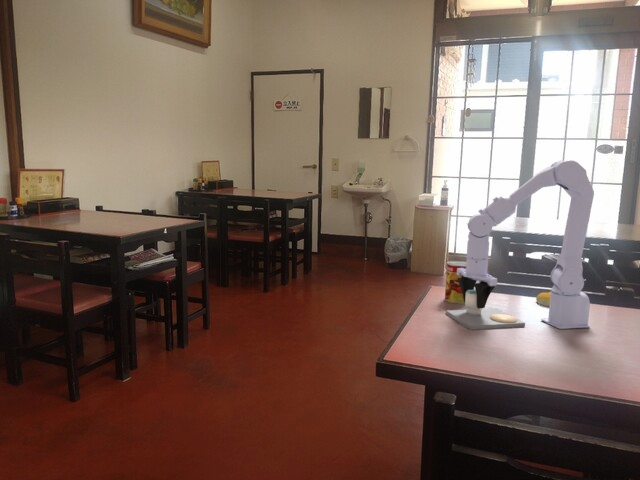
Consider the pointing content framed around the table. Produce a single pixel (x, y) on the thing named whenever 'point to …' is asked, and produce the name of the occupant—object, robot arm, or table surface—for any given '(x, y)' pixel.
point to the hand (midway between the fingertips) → (474, 305)
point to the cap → (471, 299)
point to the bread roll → (544, 299)
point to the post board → (484, 318)
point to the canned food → (454, 282)
